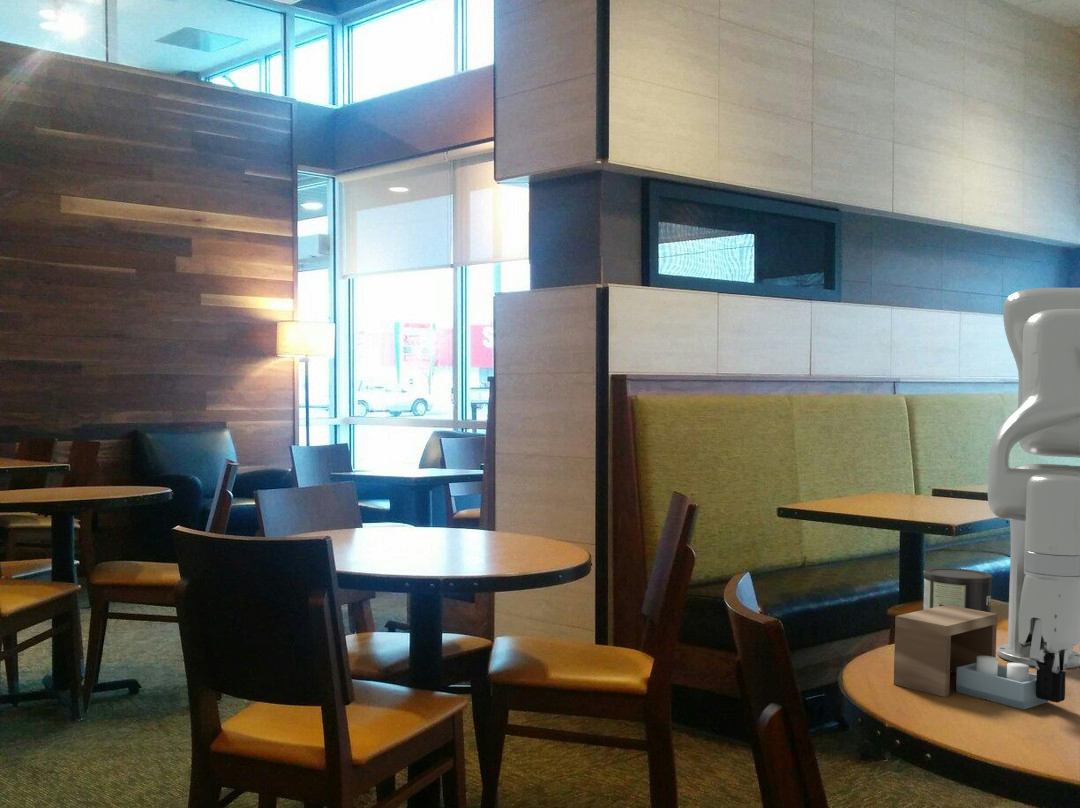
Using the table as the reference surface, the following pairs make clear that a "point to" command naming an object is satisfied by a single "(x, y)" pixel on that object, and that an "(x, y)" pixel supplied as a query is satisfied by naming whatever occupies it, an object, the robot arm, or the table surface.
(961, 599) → the coffee can
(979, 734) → the table surface
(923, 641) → the wooden footstool
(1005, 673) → the tray
